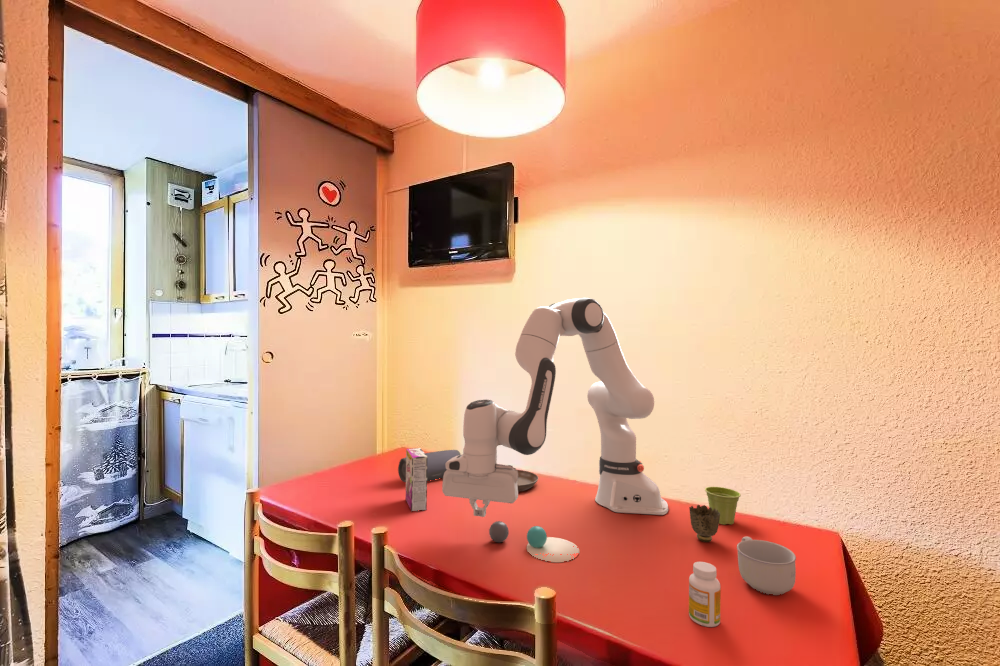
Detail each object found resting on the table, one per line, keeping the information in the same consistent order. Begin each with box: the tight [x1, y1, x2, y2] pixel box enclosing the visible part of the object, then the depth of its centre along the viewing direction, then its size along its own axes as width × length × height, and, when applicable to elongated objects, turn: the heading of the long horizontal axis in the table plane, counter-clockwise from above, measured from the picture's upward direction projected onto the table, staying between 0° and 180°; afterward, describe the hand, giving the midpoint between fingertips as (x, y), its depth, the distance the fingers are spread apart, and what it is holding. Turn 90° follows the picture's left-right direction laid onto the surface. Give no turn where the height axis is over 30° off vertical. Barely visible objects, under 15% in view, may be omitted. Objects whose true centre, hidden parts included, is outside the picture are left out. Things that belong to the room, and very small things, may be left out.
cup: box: [688, 504, 720, 543], centre depth 117 cm, size 8×7×8 cm
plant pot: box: [704, 486, 741, 526], centre depth 130 cm, size 9×9×9 cm
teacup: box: [736, 536, 797, 596], centre depth 96 cm, size 14×11×8 cm
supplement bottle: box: [688, 561, 722, 628], centre depth 83 cm, size 5×5×10 cm
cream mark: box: [526, 536, 580, 563], centre depth 109 cm, size 13×13×1 cm
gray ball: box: [488, 520, 510, 543], centre depth 113 cm, size 5×5×5 cm
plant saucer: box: [512, 469, 539, 493], centre depth 159 cm, size 21×21×3 cm
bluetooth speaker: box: [397, 449, 462, 483], centre depth 163 cm, size 23×9×10 cm, turn 130°
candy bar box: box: [405, 447, 428, 512], centre depth 137 cm, size 11×5×16 cm, turn 22°
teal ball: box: [526, 525, 548, 548], centre depth 111 cm, size 5×5×5 cm
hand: (479, 515), depth 115 cm, fingers closed
